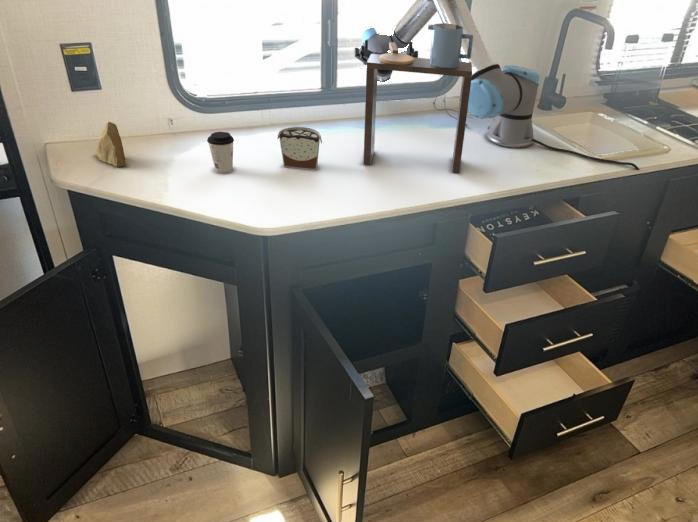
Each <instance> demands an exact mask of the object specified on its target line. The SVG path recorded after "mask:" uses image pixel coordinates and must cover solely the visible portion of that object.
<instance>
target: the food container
mask: <svg viewBox="0 0 698 522" xmlns="http://www.w3.org/2000/svg"><path fill="white" fill-rule="evenodd" d="M276 140H279V145H280V151H281V156H282V163H283V168H289V169H290V168H291V169H299V170H301V169H302V170H311V171H313V170H314V171H318V162H319V152H320V144H322V143H323V140H322V136H321V133H320V132H319V131H318V130H316V129H314V128H311V127H305V126H292V127H285V128H282V129H281V130H279V131H278V134H277V139H276Z"/></svg>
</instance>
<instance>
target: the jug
mask: <svg viewBox="0 0 698 522" xmlns="http://www.w3.org/2000/svg"><path fill="white" fill-rule="evenodd" d="M463 29H464V28H463V27H462V26H459V25H454V24H443V23H442V22H441V23H435V24H428V27H427V30H430V31H432V33H431V44H430V53H429V54H430V55H429V59H430V64H431V65H432V66H435V67H439V68H457V67H459V63H460V58H462V59H470V58H471V52H472V45H473V35H470V34H463ZM462 38H463V39H469V43H468V51H467V54H461V46H462Z"/></svg>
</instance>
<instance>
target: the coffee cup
mask: <svg viewBox="0 0 698 522" xmlns="http://www.w3.org/2000/svg"><path fill="white" fill-rule="evenodd" d="M206 141H207V143H208V146H209V150H210V154H211V158H212V162H213V167H214V172H216V173H217V174H221V175H224V174H230V173H231V172H233V169H234V167H233V165H234V142H235V139H234V137H233V136H232V135H231V133H230V132H227V131H215V132H212V133H210V135H209V136H208V137H207V139H206Z"/></svg>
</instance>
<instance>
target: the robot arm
mask: <svg viewBox="0 0 698 522" xmlns="http://www.w3.org/2000/svg"><path fill="white" fill-rule="evenodd" d="M436 13H437V14H438V16H439V18H440V20H441V23H443V24H454V25H459V26H462V27H463V28H464V29H463V34H470V35H473V45H472V52H471V58H470V59H462V58H460V62H471V63H472V79H471V87H470V95H469V102H468V110H467V112H469V113H470V115H472V116H474V117H475V118H478V119H482V120H486V119H492V122H491V124H490V125H489V126H488V127H487V128H486V129H487V133H486V134H487V135H486V139H487V140H488V141H489V142H490V143H492V144H495V145H497V146H500V147H505V148H511V149H512V148H513V149H521V148H528V147H530V146H532V145H533V143H535V144H538V145H540V146H542V147H544V148H546V149H548V150H549V149H550V150H553V151H557V152H563V153H568V154H572V155H575V156H579V157H582V158H585V159H589V160H592V161H597V162H602V163H608V164H615V165H620V166H631V167H633V168H634V169H635V170H636V171H640V168H639V167H638V165H636V164H635V163H633V162H627V161H618V160H611V159H605V158H599V157H594V156H590V155H587V154H584V153H581V152H577V151H575V150H570V149H565V148H559V147H554V146H552V145H548V144H545V143H544V142H542V141H539V140H537V139H535V138H534V136H535V135H534V127H533V120H532V119H533V113H534V108H535V104H536V99H537V94H538V88H539V86H540V84H539V83H540V74H539V72H538V71H537V70H535V69H532V68H529V67H524V66H519V65H511V64H506V65H504V66H503V68H501V65H500V64H499V62H495V61H493V60H492V58H491V57H490V53H489V51H488V49H487V47H486V45H485V43H484V40H483V39H482V36H481V34H480V31H479V29H478V27H477V25H476V22H475V20H474V18H473V16H472V14H471V11H470V9H469V7H468V4H467V2H466V0H415V1H414V3H412V4H411V7H409V9H408V10H407V11H406V12H405V14H404V15H403V16H402V17H401V19H400V20H399V21H398V22H397V24H396V25H395V26H396V28H395V30H394V34H393V36H392V35H391V36H387V35H379V34H380V33H378V32H377V31H376V29H375V27H373V28H370V29H367V30H365V31H364V33H363V35H362V46H361V48H360V49H359V48H358V47H354V49H353V50H354V57H355V58H356V59H358V60H359V62H362V63H363V65H365V66H366V65H367V61H368V59H369V57H370V55H371V54H381V55H382V54H386V53H388V52H387V51H388V50H390V48H389V43H390V42H395V44H396V46H397V49H398V48H404V47H406V46H407V45H408V44H409V46H408V48H407V51H404V52H401V53H400V54H406V55H409V56H412V57H415V58H419V50H415V47H413V42H411V40H412V41H413V39H414V38H415V37H416V36H417V35H418V34H419V33H420V31H421V30H422V29H423V28H424V27H425V26H426V25H427V24H428V22H429V21H430V20H431V19H432V18H433V17H434V16H435V15H436ZM468 43H469V39H463V38H462V46H461V54H467V51H468ZM392 74H393V71H392V70H381V69H378V72H377V81H380V82H385V81H387V80H389V79H390V80H391V77H392Z"/></svg>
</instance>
